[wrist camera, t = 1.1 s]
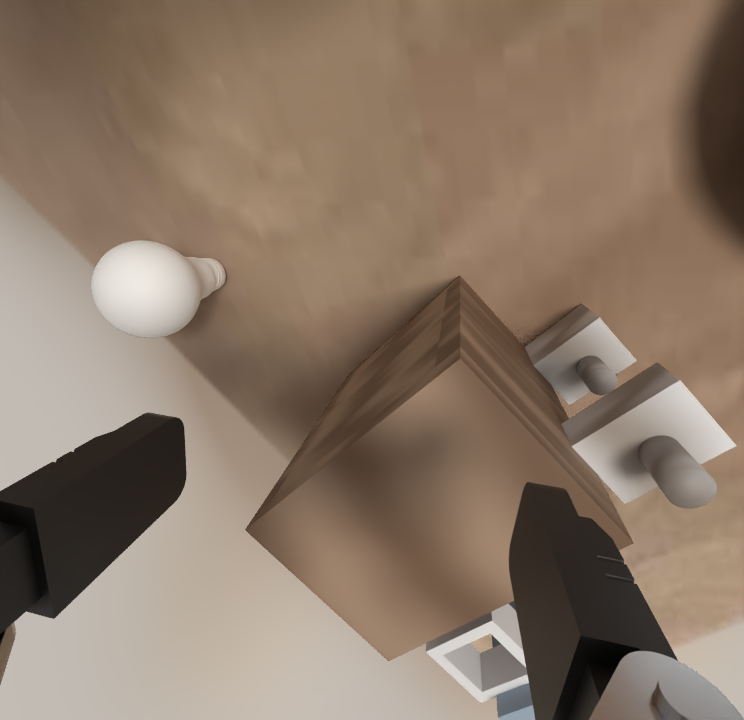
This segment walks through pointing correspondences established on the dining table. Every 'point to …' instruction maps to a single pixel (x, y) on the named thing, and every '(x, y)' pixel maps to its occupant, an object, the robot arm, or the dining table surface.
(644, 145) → the dining table surface
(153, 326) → the lightbulb
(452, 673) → the cabinet door
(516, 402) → the cabinet
